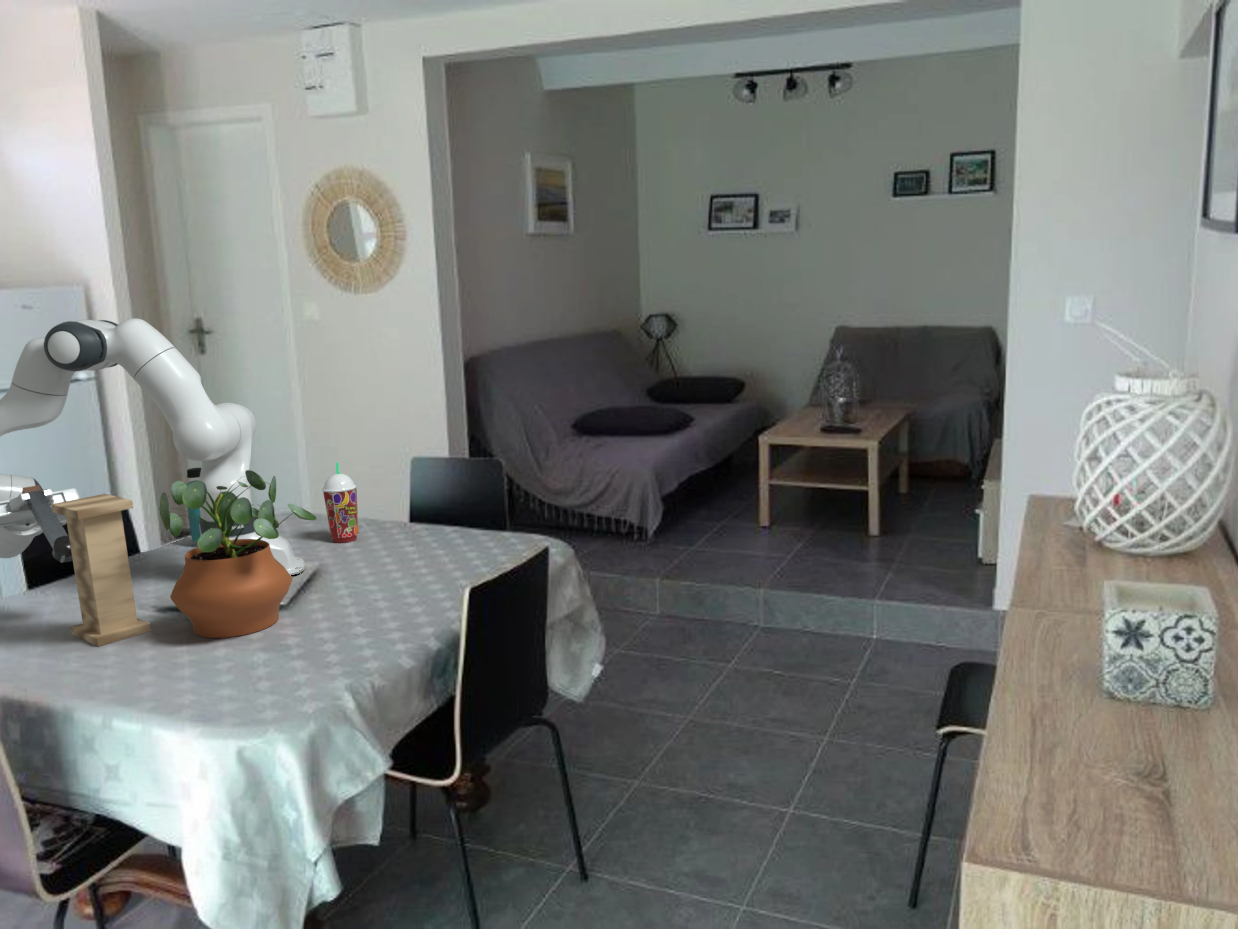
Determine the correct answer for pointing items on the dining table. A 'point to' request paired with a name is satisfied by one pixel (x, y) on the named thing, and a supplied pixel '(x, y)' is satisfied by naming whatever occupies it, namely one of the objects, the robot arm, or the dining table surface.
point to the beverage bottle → (194, 523)
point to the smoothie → (341, 507)
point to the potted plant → (229, 561)
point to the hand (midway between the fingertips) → (36, 494)
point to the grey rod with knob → (49, 524)
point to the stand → (101, 568)
